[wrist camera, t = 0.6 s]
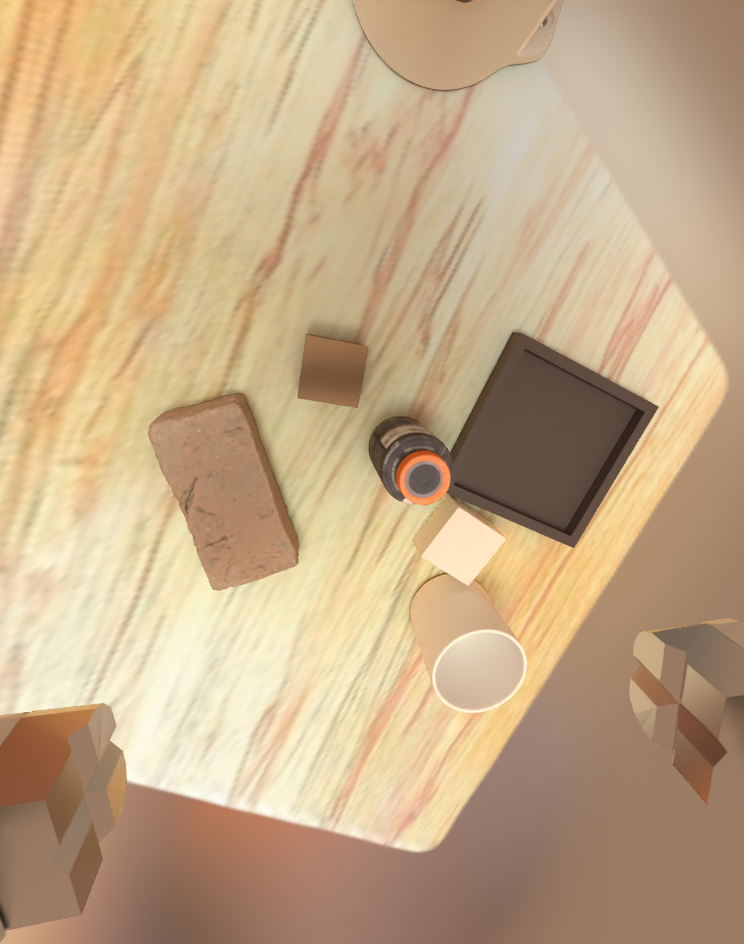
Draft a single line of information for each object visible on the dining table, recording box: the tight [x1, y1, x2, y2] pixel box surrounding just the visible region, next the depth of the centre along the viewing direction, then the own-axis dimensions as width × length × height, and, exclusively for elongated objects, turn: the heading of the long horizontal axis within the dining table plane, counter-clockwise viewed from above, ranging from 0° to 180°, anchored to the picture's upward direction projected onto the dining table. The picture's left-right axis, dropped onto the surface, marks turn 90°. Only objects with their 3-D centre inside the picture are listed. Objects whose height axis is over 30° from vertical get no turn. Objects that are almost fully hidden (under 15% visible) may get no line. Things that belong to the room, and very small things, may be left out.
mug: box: [410, 574, 527, 713], centre depth 49 cm, size 9×12×11 cm
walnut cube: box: [298, 334, 368, 408], centre depth 43 cm, size 5×5×5 cm
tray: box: [446, 333, 658, 548], centre depth 49 cm, size 16×16×2 cm
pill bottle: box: [369, 417, 453, 505], centre depth 43 cm, size 6×6×11 cm
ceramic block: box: [413, 494, 506, 586], centre depth 50 cm, size 6×6×4 cm
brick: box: [148, 394, 299, 590], centre depth 45 cm, size 17×8×5 cm, turn 16°
